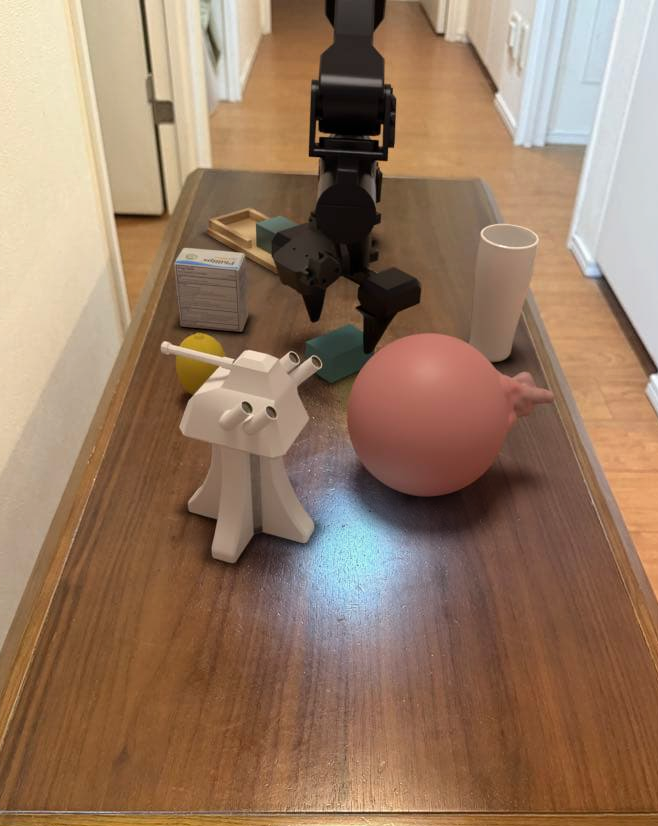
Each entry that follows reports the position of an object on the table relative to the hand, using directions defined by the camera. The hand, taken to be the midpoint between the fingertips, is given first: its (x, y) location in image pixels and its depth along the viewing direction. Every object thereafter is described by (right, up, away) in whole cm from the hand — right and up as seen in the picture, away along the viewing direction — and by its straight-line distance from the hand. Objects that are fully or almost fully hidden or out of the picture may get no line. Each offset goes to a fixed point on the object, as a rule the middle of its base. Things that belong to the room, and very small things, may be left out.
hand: (340, 337), depth 97 cm
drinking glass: (+18, -1, +7) cm, 20 cm away
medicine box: (-16, +4, +9) cm, 19 cm away
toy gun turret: (-9, -22, -18) cm, 30 cm away
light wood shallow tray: (-12, +20, +25) cm, 34 cm away
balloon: (+11, -18, -12) cm, 24 cm away
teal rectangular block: (0, -3, +3) cm, 4 cm away
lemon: (-15, -8, -4) cm, 18 cm away
